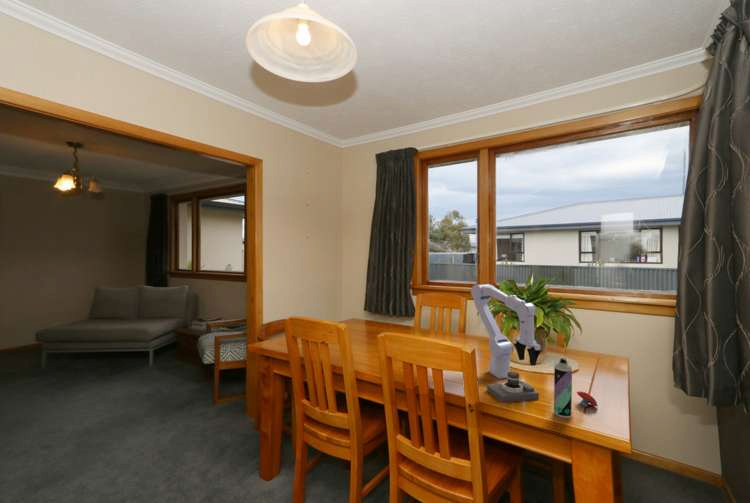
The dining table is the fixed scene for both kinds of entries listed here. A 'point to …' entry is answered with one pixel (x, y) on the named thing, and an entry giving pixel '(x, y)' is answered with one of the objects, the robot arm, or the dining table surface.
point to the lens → (513, 380)
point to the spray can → (563, 389)
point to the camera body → (513, 392)
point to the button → (587, 399)
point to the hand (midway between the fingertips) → (527, 362)
